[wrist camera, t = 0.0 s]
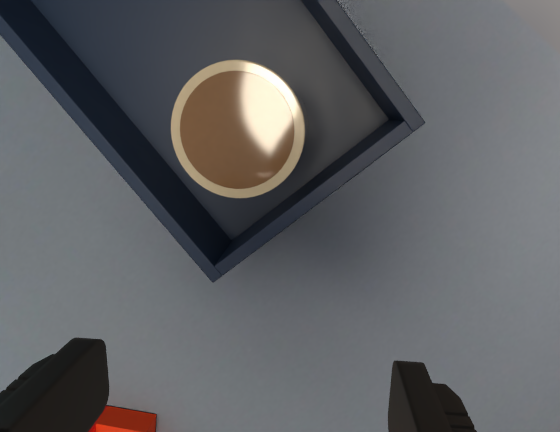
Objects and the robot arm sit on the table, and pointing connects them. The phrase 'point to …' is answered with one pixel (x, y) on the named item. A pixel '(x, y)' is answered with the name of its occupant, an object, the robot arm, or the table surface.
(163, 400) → the table surface
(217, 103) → the cup
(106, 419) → the building blocks
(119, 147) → the navy tray
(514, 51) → the table surface
